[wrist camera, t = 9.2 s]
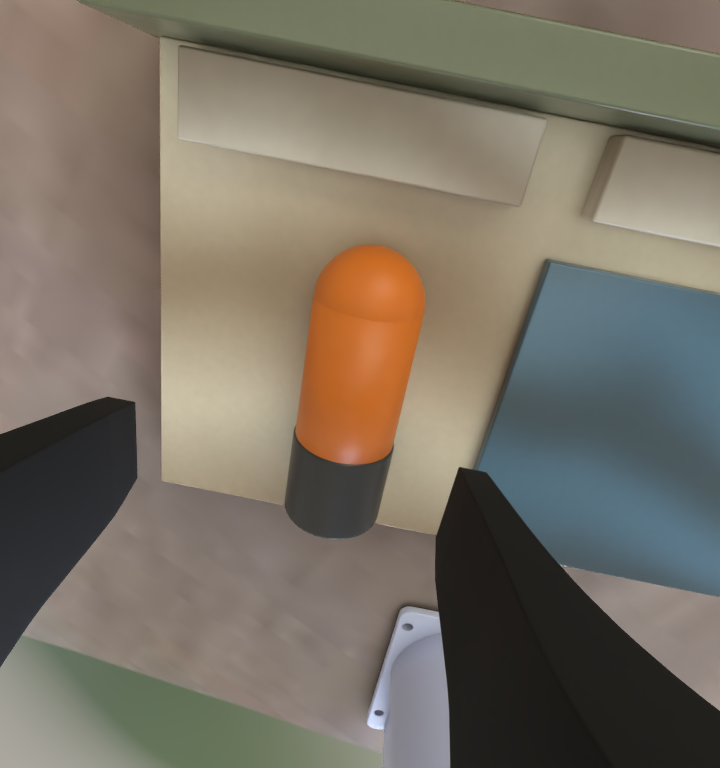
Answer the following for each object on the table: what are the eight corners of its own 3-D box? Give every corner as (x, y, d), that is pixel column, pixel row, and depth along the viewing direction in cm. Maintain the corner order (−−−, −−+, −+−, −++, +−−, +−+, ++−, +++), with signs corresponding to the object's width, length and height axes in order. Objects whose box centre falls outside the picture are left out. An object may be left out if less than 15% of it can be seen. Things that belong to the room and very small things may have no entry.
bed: (691, 546, 20) (775, 664, 16) (177, 444, 20) (109, 532, 16) (947, 152, 14) (1225, 153, 9) (183, -1, 14) (67, -79, 9)
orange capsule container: (343, 471, 18) (396, 524, 16) (267, 492, 16) (314, 556, 14) (388, 235, 14) (464, 263, 12) (296, 229, 13) (366, 261, 10)
